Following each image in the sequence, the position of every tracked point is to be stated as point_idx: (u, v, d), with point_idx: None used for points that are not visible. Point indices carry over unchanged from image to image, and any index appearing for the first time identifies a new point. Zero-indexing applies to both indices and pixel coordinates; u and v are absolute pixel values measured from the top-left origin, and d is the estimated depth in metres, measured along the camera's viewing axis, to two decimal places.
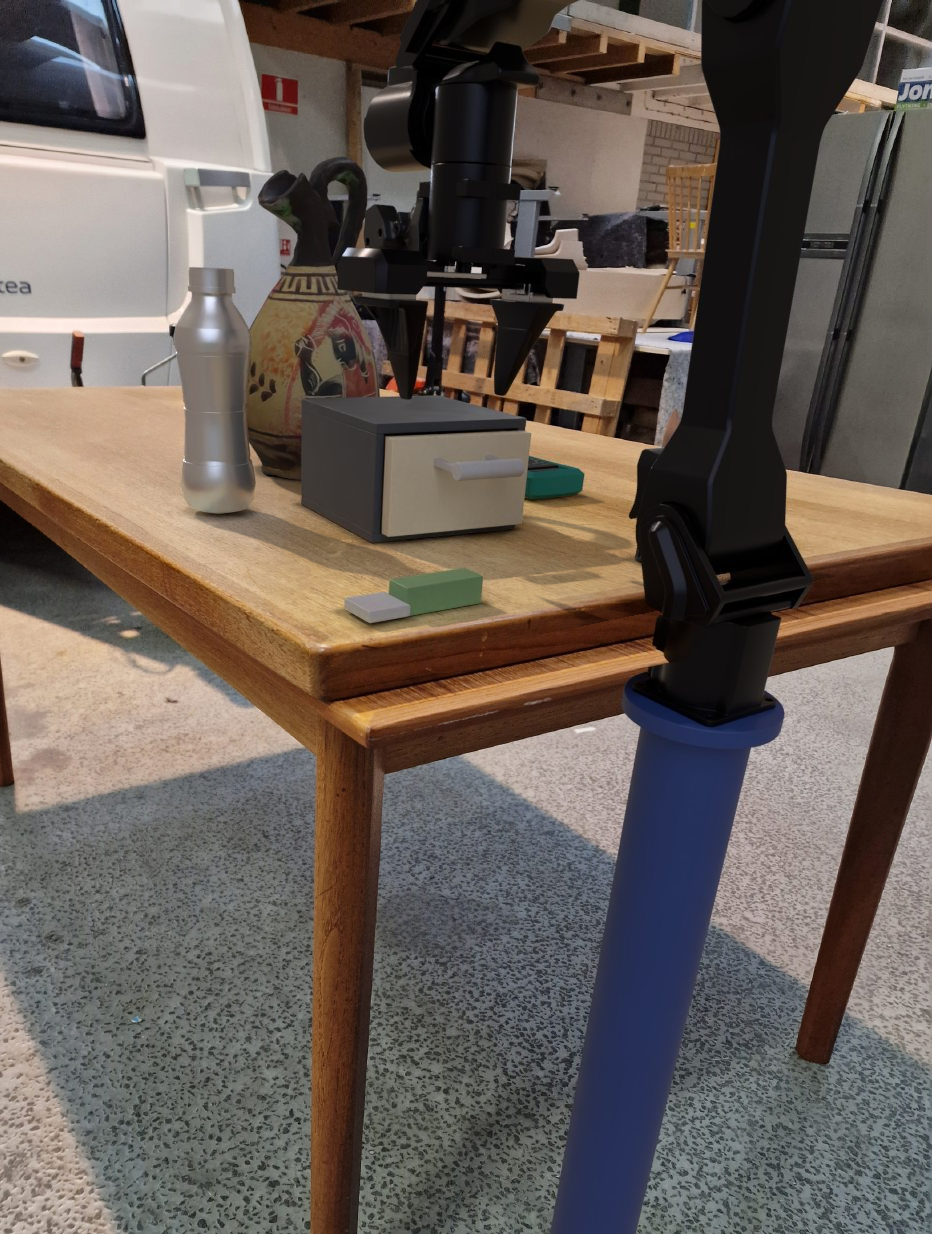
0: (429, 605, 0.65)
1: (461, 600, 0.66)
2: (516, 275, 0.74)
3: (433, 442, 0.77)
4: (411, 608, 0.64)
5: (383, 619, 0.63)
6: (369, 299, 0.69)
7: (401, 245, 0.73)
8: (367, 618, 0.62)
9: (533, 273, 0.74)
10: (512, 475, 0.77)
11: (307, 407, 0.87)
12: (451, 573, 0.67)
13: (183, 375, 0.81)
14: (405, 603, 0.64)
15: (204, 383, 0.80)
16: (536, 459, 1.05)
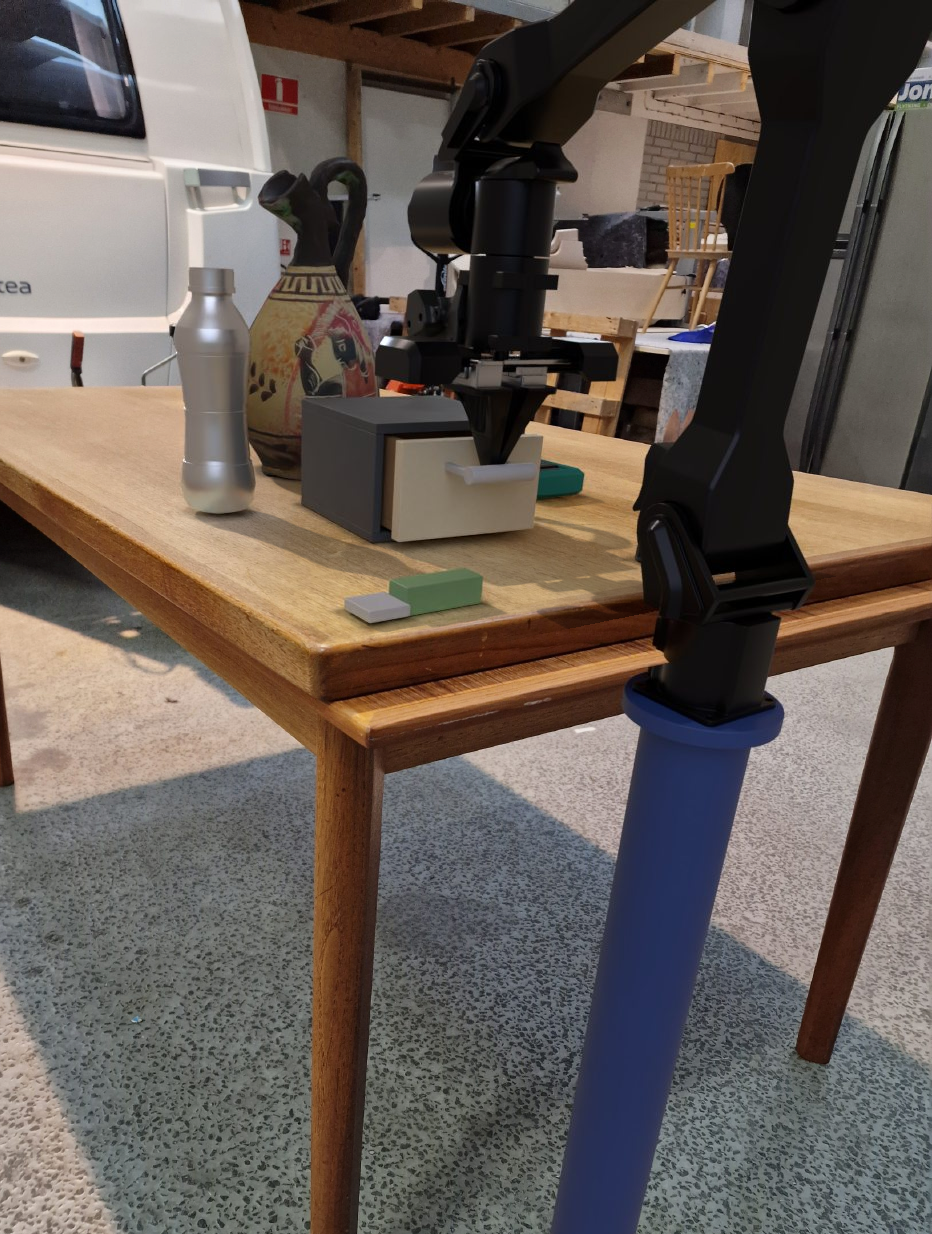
0: (429, 605, 0.65)
1: (461, 600, 0.66)
2: (555, 358, 0.74)
3: (444, 446, 0.76)
4: (411, 608, 0.64)
5: (383, 619, 0.63)
6: (456, 385, 0.72)
7: (441, 328, 0.74)
8: (367, 618, 0.62)
9: (572, 355, 0.75)
10: (525, 479, 0.76)
11: (307, 407, 0.87)
12: (451, 573, 0.67)
13: (183, 375, 0.81)
14: (405, 603, 0.64)
15: (204, 383, 0.80)
16: None
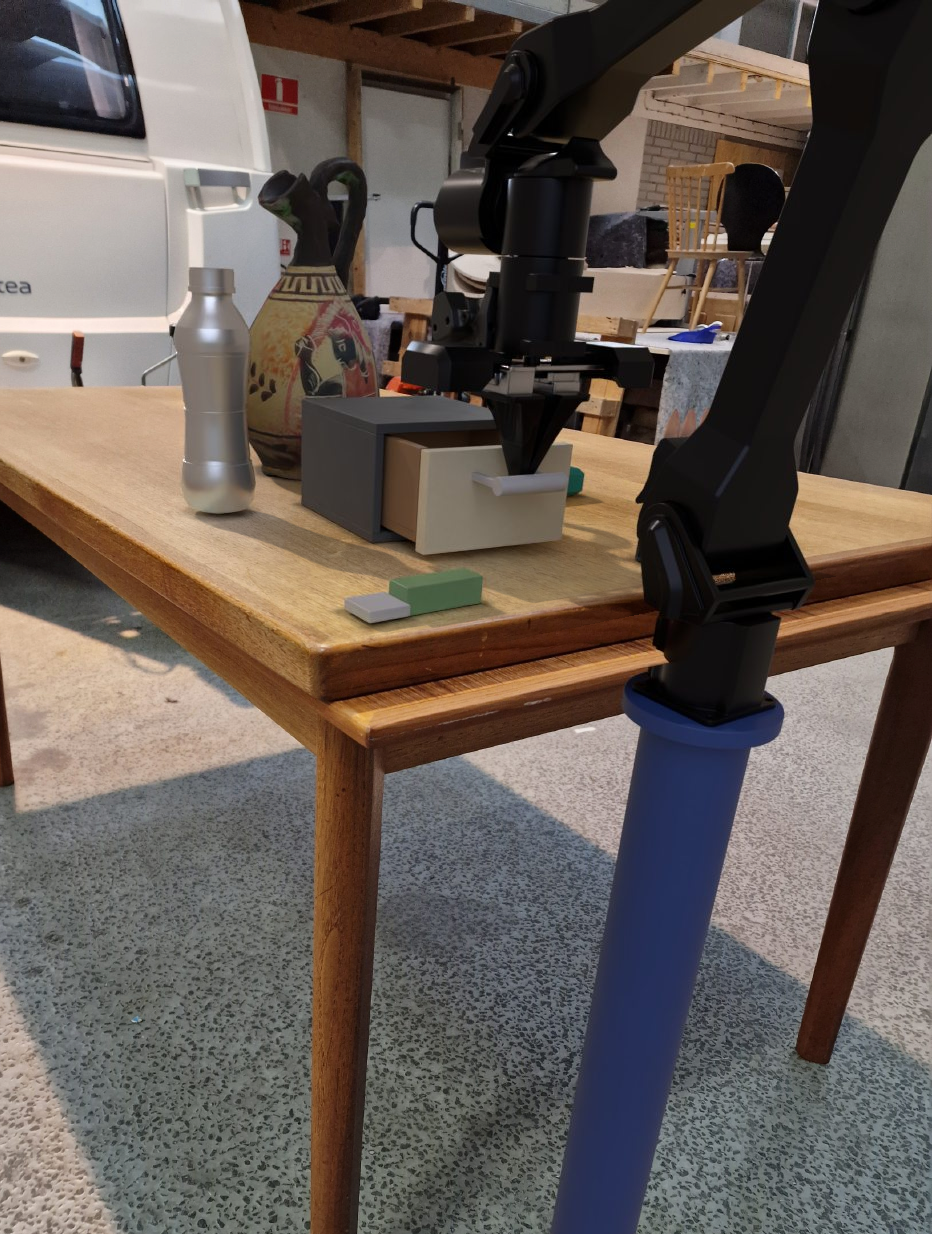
0: (429, 605, 0.65)
1: (461, 600, 0.66)
2: (587, 363, 0.71)
3: (471, 455, 0.73)
4: (411, 608, 0.64)
5: (383, 619, 0.63)
6: (485, 391, 0.69)
7: (469, 332, 0.71)
8: (367, 618, 0.62)
9: (606, 361, 0.72)
10: (555, 490, 0.73)
11: (307, 407, 0.87)
12: (451, 573, 0.67)
13: (183, 375, 0.81)
14: (405, 603, 0.64)
15: (204, 383, 0.80)
16: None
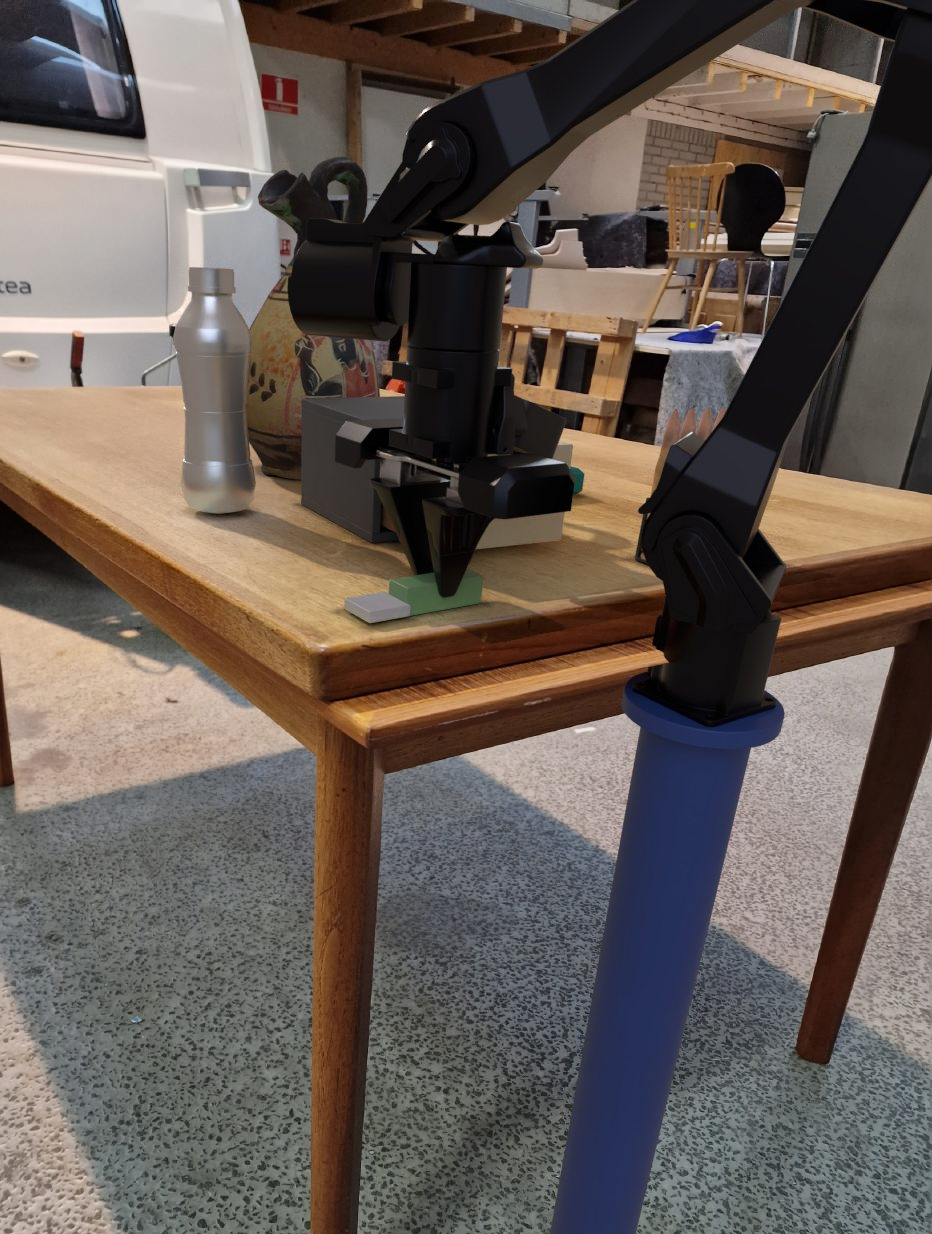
0: (429, 605, 0.65)
1: (461, 600, 0.66)
2: None
3: None
4: (411, 608, 0.64)
5: (383, 619, 0.63)
6: None
7: None
8: (367, 618, 0.62)
9: None
10: None
11: (307, 407, 0.87)
12: None
13: (183, 375, 0.81)
14: (405, 603, 0.64)
15: (204, 383, 0.80)
16: None
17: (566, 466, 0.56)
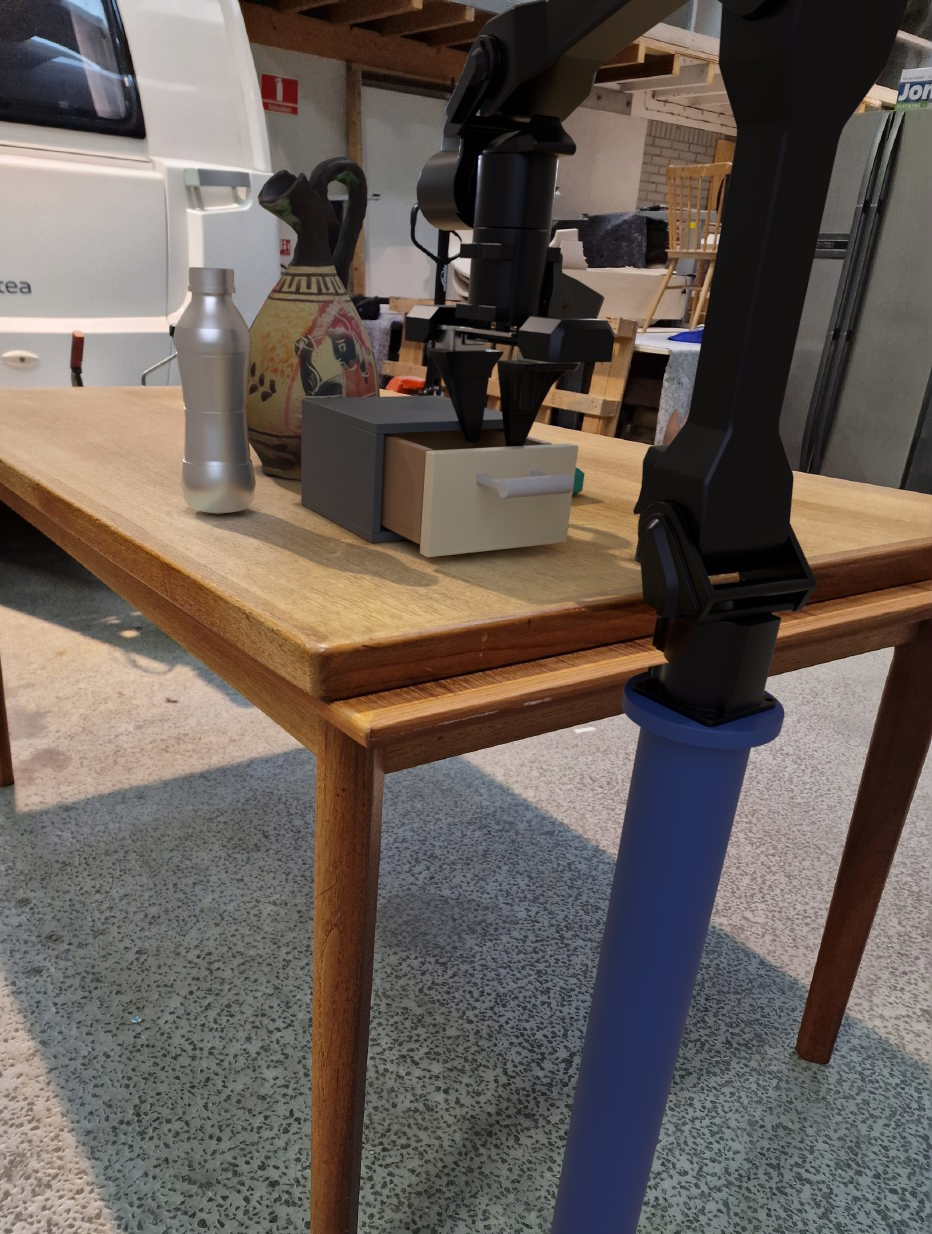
0: None
1: None
2: None
3: (476, 457, 0.72)
4: None
5: None
6: None
7: None
8: None
9: None
10: (561, 492, 0.72)
11: (307, 407, 0.87)
12: None
13: (183, 375, 0.81)
14: None
15: (204, 383, 0.80)
16: None
17: (608, 322, 0.68)
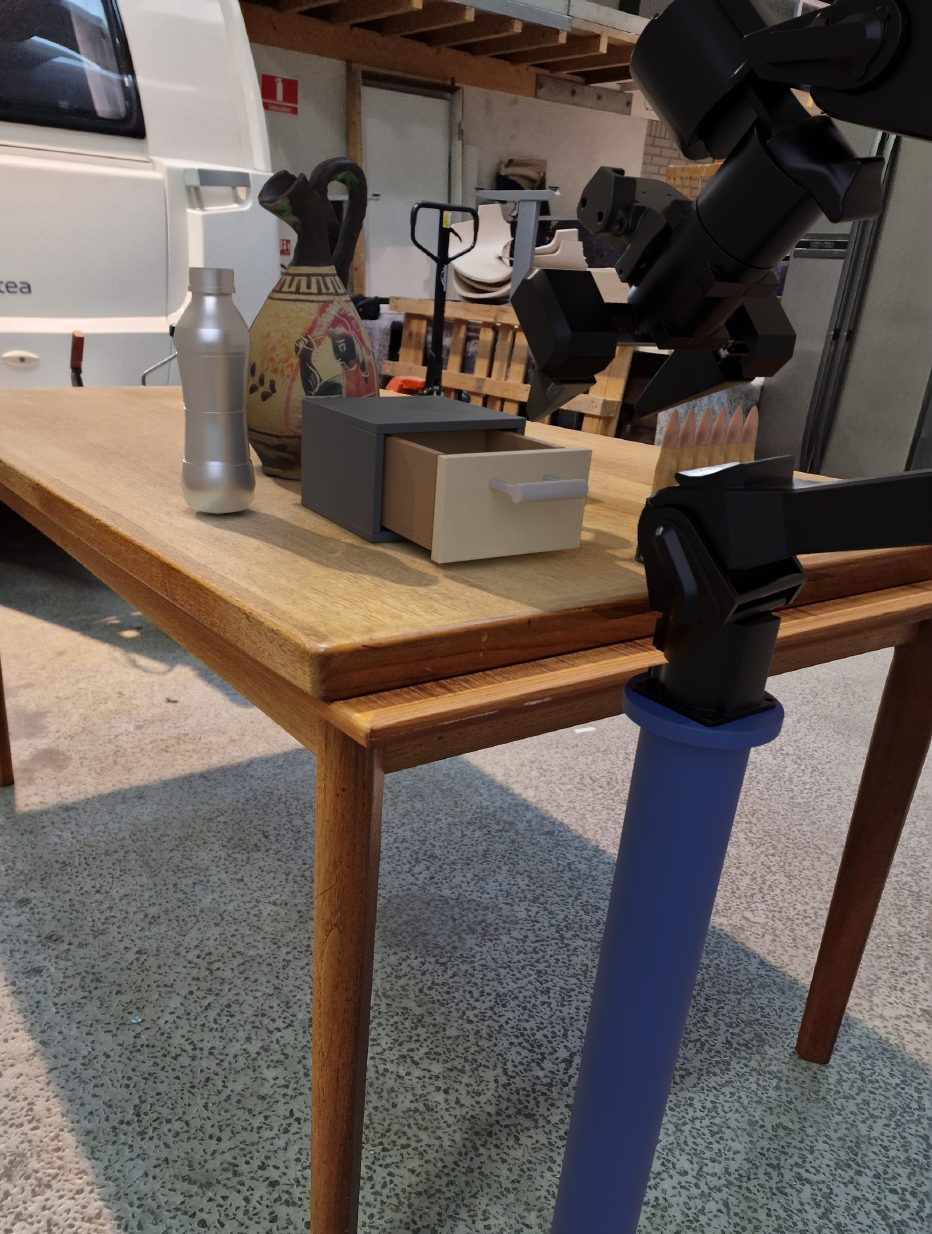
0: None
1: None
2: None
3: (489, 461, 0.71)
4: None
5: None
6: None
7: (618, 236, 0.56)
8: None
9: None
10: (575, 497, 0.71)
11: (307, 407, 0.87)
12: None
13: (183, 375, 0.81)
14: None
15: (204, 383, 0.80)
16: None
17: None
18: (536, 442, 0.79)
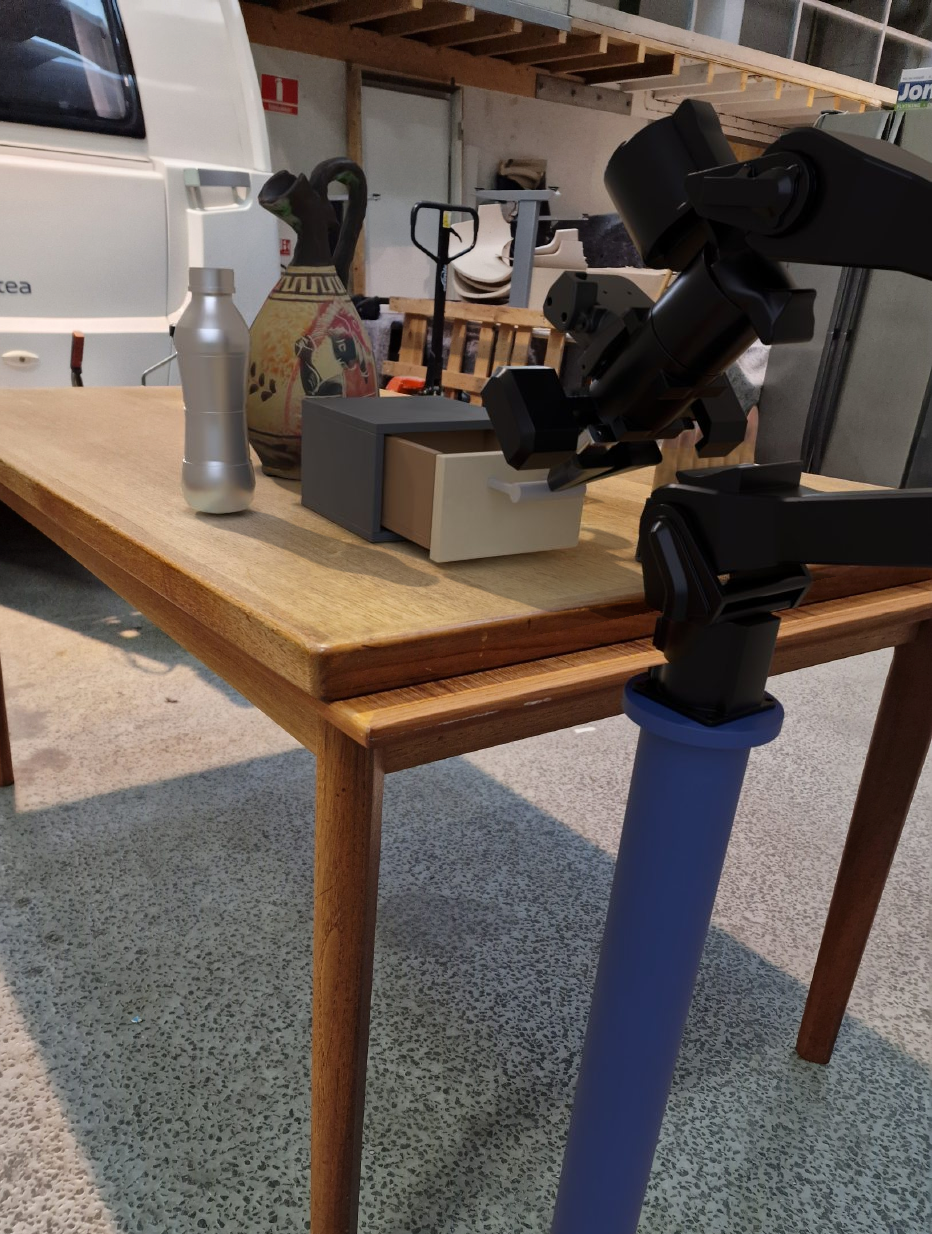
0: None
1: None
2: (681, 413, 0.64)
3: (487, 460, 0.71)
4: None
5: None
6: None
7: (581, 332, 0.61)
8: None
9: None
10: (574, 496, 0.71)
11: (307, 407, 0.87)
12: None
13: (183, 375, 0.81)
14: None
15: (204, 383, 0.80)
16: None
17: None
18: None
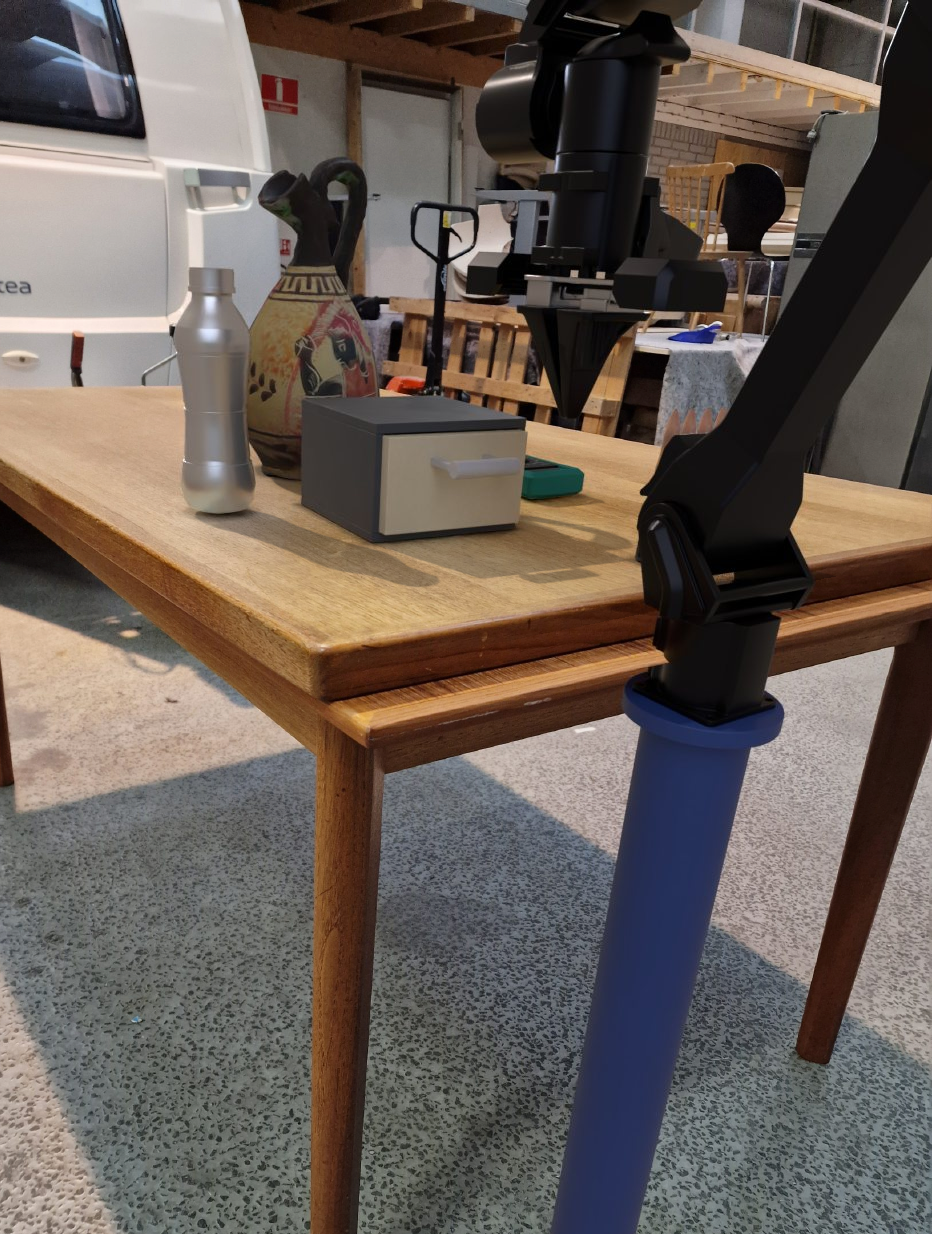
0: None
1: None
2: None
3: (430, 441, 0.78)
4: None
5: None
6: None
7: None
8: None
9: None
10: (509, 474, 0.78)
11: (307, 407, 0.87)
12: None
13: (183, 375, 0.81)
14: None
15: (204, 383, 0.80)
16: (536, 459, 1.05)
17: (721, 264, 0.57)
18: None
